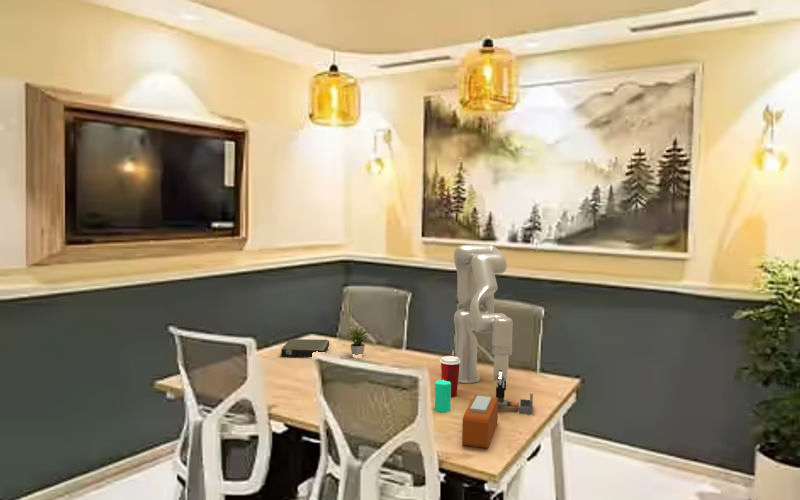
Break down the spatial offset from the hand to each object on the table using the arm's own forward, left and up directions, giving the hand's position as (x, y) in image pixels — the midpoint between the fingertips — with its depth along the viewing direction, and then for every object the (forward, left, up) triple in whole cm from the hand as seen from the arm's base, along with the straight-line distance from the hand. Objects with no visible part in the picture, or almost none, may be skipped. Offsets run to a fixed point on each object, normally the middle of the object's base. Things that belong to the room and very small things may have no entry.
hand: (500, 393), depth 230 cm
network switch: (-101, +55, -6) cm, 115 cm away
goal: (+10, 0, -6) cm, 11 cm away
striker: (0, 0, -6) cm, 6 cm away
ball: (+5, 0, -4) cm, 7 cm away
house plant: (-73, +53, -6) cm, 90 cm away
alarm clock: (-5, -28, -6) cm, 29 cm away
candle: (-21, -8, -6) cm, 23 cm away
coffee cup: (-21, +10, -6) cm, 24 cm away
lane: (-1, 0, -6) cm, 6 cm away
